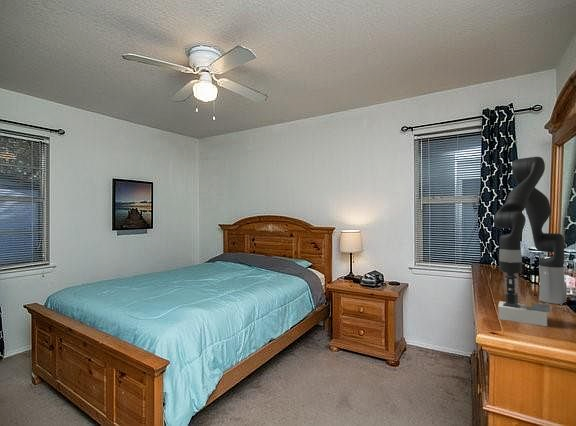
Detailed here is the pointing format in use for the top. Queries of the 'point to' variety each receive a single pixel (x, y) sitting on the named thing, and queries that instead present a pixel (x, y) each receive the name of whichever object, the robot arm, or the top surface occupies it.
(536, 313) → the socket block
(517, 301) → the plug
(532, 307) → the shutter
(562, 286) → the robot arm
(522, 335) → the top surface
